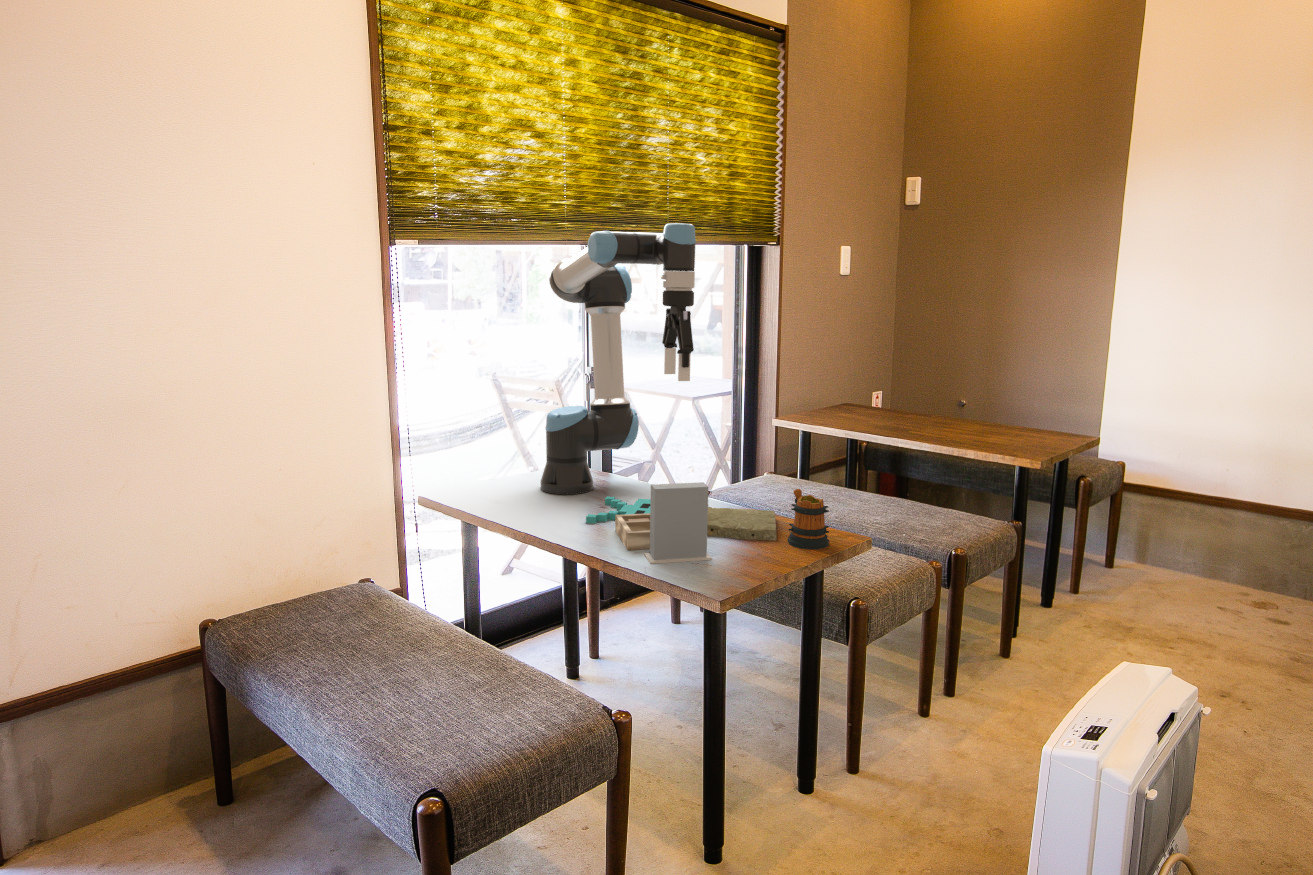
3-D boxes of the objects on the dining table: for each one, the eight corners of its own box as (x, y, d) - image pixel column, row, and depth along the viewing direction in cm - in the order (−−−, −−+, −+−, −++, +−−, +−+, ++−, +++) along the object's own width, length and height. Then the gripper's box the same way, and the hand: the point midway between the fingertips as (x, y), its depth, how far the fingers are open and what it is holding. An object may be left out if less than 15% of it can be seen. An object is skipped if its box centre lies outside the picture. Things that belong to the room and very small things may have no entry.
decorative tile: (697, 517, 228) (697, 504, 227) (775, 521, 226) (775, 507, 225) (692, 539, 210) (693, 525, 209) (777, 543, 208) (778, 528, 207)
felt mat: (644, 554, 196) (644, 553, 196) (704, 551, 200) (704, 549, 199) (650, 563, 191) (650, 561, 190) (712, 559, 194) (712, 558, 194)
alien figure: (586, 524, 220) (664, 531, 216) (586, 516, 220) (664, 522, 216) (607, 504, 239) (679, 509, 235) (607, 496, 239) (679, 501, 235)
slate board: (649, 554, 196) (650, 484, 192) (701, 551, 198) (703, 482, 195) (653, 560, 192) (654, 489, 189) (706, 556, 194) (708, 486, 191)
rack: (615, 530, 214) (615, 514, 213) (686, 526, 218) (686, 511, 217) (627, 550, 199) (627, 533, 199) (703, 545, 204) (704, 528, 203)
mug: (838, 548, 203) (840, 499, 201) (797, 551, 201) (800, 502, 198) (812, 531, 216) (815, 486, 213) (774, 534, 213) (776, 488, 211)
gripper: (651, 287, 222) (650, 371, 226) (676, 291, 198) (674, 384, 202) (680, 288, 224) (678, 371, 228) (708, 291, 200) (705, 383, 204)
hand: (676, 377), depth 215 cm, fingers open, 13 cm apart
